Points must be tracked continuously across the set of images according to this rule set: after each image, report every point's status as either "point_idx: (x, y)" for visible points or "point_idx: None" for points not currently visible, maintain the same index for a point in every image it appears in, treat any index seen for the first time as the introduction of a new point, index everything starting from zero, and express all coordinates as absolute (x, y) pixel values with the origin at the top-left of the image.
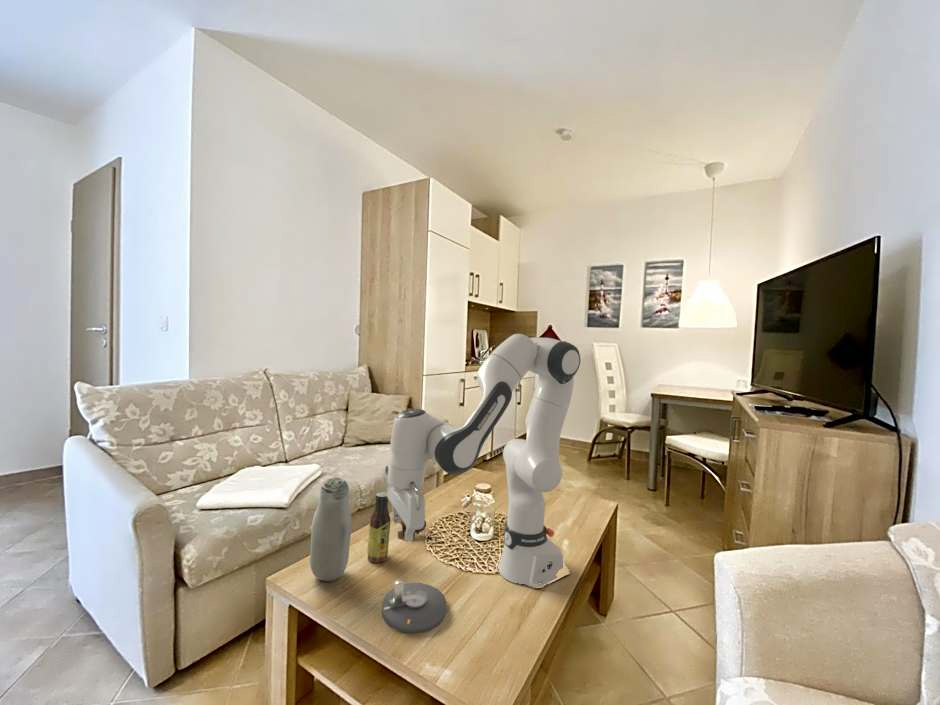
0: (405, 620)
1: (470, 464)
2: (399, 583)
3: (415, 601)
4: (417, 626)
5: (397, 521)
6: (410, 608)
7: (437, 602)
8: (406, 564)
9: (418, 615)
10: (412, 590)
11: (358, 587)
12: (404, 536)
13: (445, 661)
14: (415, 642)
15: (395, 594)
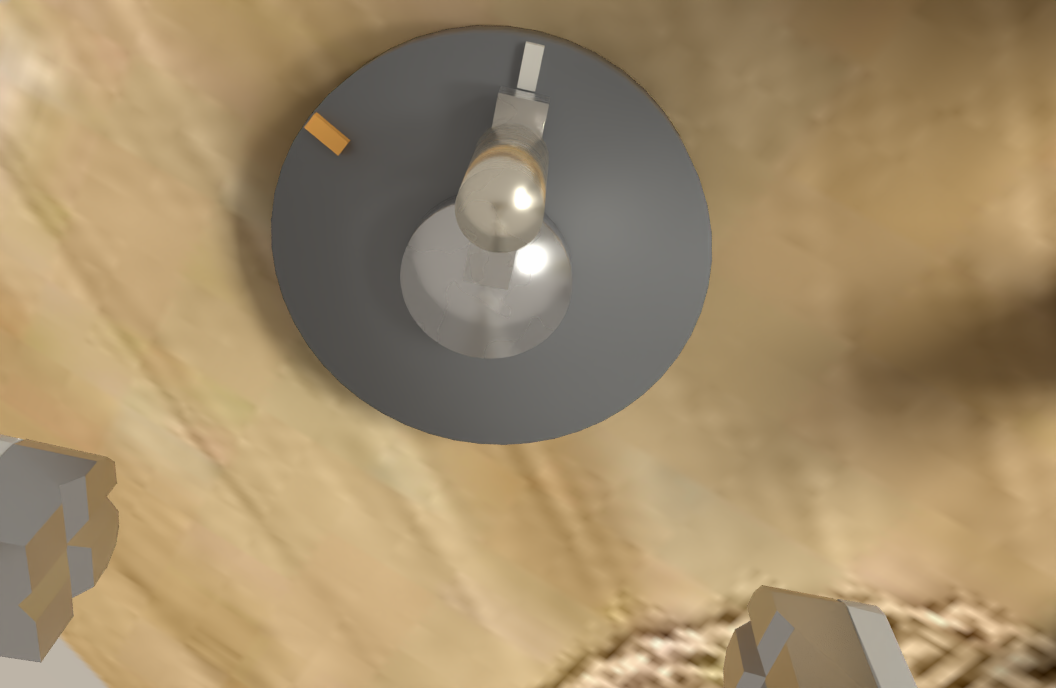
0: (357, 123)
1: None
2: (478, 202)
3: (437, 260)
4: (283, 166)
5: (756, 641)
6: (434, 208)
7: (413, 378)
8: (927, 434)
9: (361, 221)
10: (554, 302)
11: (965, 24)
12: (46, 478)
13: (36, 174)
14: (232, 106)
15: (488, 144)
